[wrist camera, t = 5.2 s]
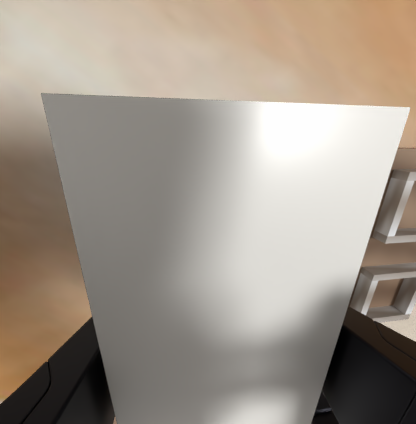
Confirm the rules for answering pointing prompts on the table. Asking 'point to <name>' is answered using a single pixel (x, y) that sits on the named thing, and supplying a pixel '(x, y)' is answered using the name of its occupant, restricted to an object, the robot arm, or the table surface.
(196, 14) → the table surface
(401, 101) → the table surface
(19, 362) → the table surface
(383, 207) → the build board
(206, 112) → the cover
